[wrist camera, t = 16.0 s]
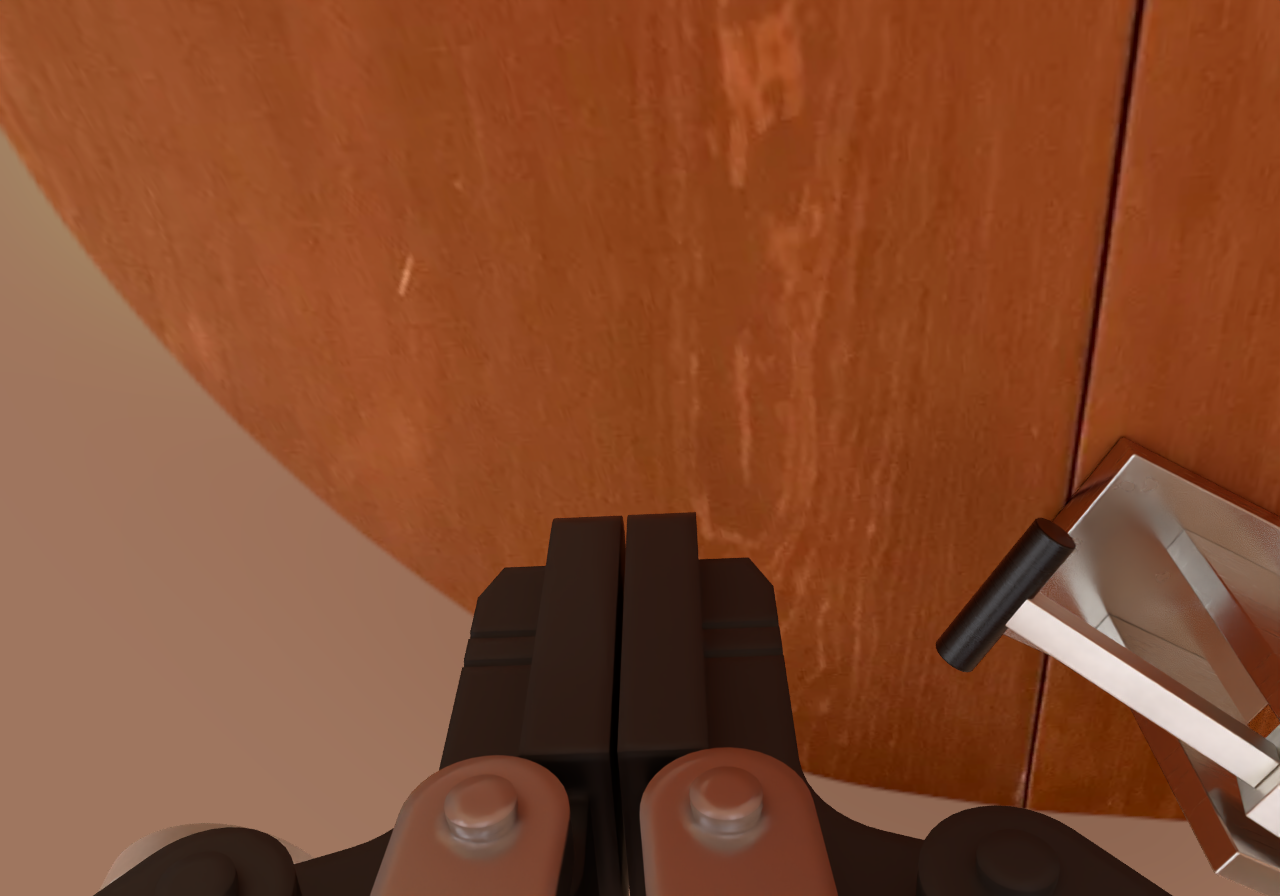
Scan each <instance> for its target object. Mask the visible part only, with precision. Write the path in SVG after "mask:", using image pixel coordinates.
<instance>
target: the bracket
mask: <svg viewBox="0 0 1280 896" xmlns="http://www.w3.org/2000/svg"><path fill="white" fill-rule="evenodd" d="M1053 523H1055V524H1056V525H1058V526H1059V527H1061V528H1062V529H1063V530H1064V531H1066V532H1067V533H1068V534H1069V535H1070V536H1071V538H1072V539H1073V540H1074V542H1075V544H1076V548H1075V550H1074V551H1073V552H1072V553H1071V554H1070V556H1069V557H1068V558H1067V559H1066V560H1065V561H1064V563H1063V564H1062V565H1061V566H1060V567H1059V569H1058V570H1057V571H1056V572H1055V573H1054V575H1053V576H1052V577H1051V578H1050V579H1049V580H1048V582H1047V583H1046V584H1045V585H1044V586H1043V588H1042V589H1041V590H1040V591H1039V592H1040V593H1042V594H1043V595H1045V596H1046V597H1048V598H1049V599H1051V600H1052V601H1054V602H1055V603H1057V604H1059V605H1060V606H1062V607H1063V608H1065V609H1066V610H1068V611H1069V612H1071V613H1072V614H1074V615H1076V616H1077V617H1079V618H1080V619H1082V620H1083V621H1085V622H1086V623H1088V624H1089V625H1091V626H1093V627H1094V628H1096V629H1097V630H1099V631H1100V632H1102V633H1103V634H1105V635H1106V636H1108V637H1110V638H1111V639H1113V640H1114V641H1116V642H1117V643H1119V644H1120V645H1122V646H1123V647H1125V648H1126V649H1128V650H1130V651H1131V652H1133V653H1134V654H1136V655H1137V656H1139V657H1140V658H1142V659H1143V660H1145V661H1147V662H1148V663H1150V664H1151V665H1153V666H1154V667H1156V668H1157V669H1159V670H1160V671H1162V672H1164V673H1165V674H1167V675H1168V676H1170V677H1171V678H1173V679H1174V680H1176V681H1177V682H1179V683H1181V684H1182V685H1184V686H1185V687H1187V688H1188V689H1190V690H1191V691H1193V692H1194V693H1196V694H1197V695H1199V696H1201V697H1202V698H1204V699H1205V700H1207V701H1208V702H1210V703H1211V704H1213V705H1214V706H1216V707H1218V708H1219V709H1221V710H1222V711H1224V712H1225V713H1227V714H1228V715H1230V716H1231V717H1233V718H1235V719H1236V720H1238V721H1239V722H1241V723H1242V724H1244V725H1245V726H1247V727H1248V728H1249V726H1248V723H1249V722H1250V721H1251V720H1252V719H1253V718H1254V717H1255V716H1256V715H1257V714H1258V713H1259V712H1260V711H1261V710H1262V709H1263V708H1264V707H1265V706H1266V705H1267V704H1269V706H1270V707H1271V709H1272V710H1273V712H1274V713H1275V715H1276V716H1277V718H1278V719H1279V721H1280V517H1279V516H1277V515H1275V514H1273V513H1271V512H1269V511H1267V510H1265V509H1263V508H1261V507H1259V506H1257V505H1255V504H1253V503H1251V502H1250V501H1248V500H1246V499H1244V498H1242V497H1240V496H1238V495H1236V494H1234V493H1232V492H1230V491H1228V490H1226V489H1224V488H1222V487H1220V486H1218V485H1216V484H1214V483H1212V482H1210V481H1208V480H1206V479H1204V478H1202V477H1201V476H1199V475H1197V474H1195V473H1193V472H1191V471H1189V470H1187V469H1185V468H1183V467H1181V466H1179V465H1177V464H1175V463H1173V462H1171V461H1169V460H1167V459H1165V458H1163V457H1161V456H1159V455H1157V454H1155V453H1154V452H1152V451H1150V450H1148V449H1146V448H1144V447H1142V446H1140V445H1138V444H1136V443H1134V442H1132V441H1130V440H1128V439H1126V438H1123V437H1122V438H1121V439H1120V440H1119V441H1118V443H1117V444H1116V445H1115V446H1114V447H1113V449H1112V450H1111V451H1110V452H1109V454H1108V455H1107V456H1106V457H1105V458H1104V460H1103V461H1102V462H1101V463H1100V464H1099V466H1098V467H1097V468H1096V469H1095V471H1094V472H1093V473H1092V474H1091V475H1090V477H1089V478H1088V479H1087V480H1086V482H1085V483H1084V484H1083V485H1082V486H1081V488H1080V489H1079V490H1078V491H1077V493H1076V494H1075V495H1074V496H1073V497H1072V499H1071V500H1070V501H1069V502H1068V503H1067V505H1066V506H1065V507H1064V508H1063V510H1062V511H1061V512H1060V513H1059V514H1058V516H1057V517H1056V518H1055V519H1054V521H1053ZM1004 635H1006V636H1008V637H1011V638H1013V639H1015V640H1017V641H1019V642H1022V643H1024V644H1026V645H1028V646H1030V647H1033V648H1035V649H1037V650H1039V651H1041V652H1044V653H1046V652H1045V651H1043V650H1042V649H1040V648H1038V647H1037V646H1035V645H1034V644H1032V643H1031V642H1029V641H1028V640H1026V639H1025V638H1023V637H1022V636H1020V635H1019V634H1017V633H1016V632H1014V631H1012V630H1011V629H1009V628H1008V629H1007V630H1006V631H1005V633H1004ZM1046 654H1048V653H1046ZM1048 655H1049V654H1048ZM1050 656H1051V655H1050ZM1130 709H1131V711H1132V713H1133V715H1134V717H1135V719H1136V721H1137V723H1138V725H1139V727H1140V729H1141V731H1142V732H1143V734H1144V736H1145V738H1146V740H1147V742H1148V744H1149V746H1150V748H1151V750H1152V752H1153V754H1154V756H1155V758H1156V760H1157V762H1158V764H1159V766H1160V768H1161V770H1162V772H1163V774H1164V776H1165V777H1166V779H1167V781H1168V783H1169V785H1170V787H1171V789H1172V791H1173V793H1174V795H1175V797H1176V799H1177V801H1178V803H1179V805H1180V807H1181V809H1182V811H1183V813H1184V815H1185V817H1186V819H1187V821H1188V822H1189V824H1190V826H1191V828H1192V830H1193V832H1194V834H1195V836H1196V838H1197V840H1198V842H1199V844H1200V846H1201V848H1202V850H1203V852H1204V854H1205V856H1206V858H1207V860H1208V861H1209V864H1210V865H1211V867H1212V869H1213V871H1214V873H1215V874H1216V875H1218V876H1221V877H1223V878H1225V879H1228V880H1230V881H1232V882H1235V883H1237V884H1240V885H1242V886H1244V887H1247V888H1249V889H1251V890H1254V891H1256V892H1259V893H1261V894H1264V895H1266V896H1280V839H1279V838H1278V837H1276V836H1275V835H1273V834H1272V833H1270V832H1269V831H1267V830H1266V829H1264V828H1263V827H1261V826H1260V825H1258V824H1257V823H1255V822H1254V821H1252V820H1250V819H1249V818H1247V817H1246V815H1245V812H1244V808H1243V804H1242V799H1241V795H1240V791H1239V787H1238V783H1237V778H1236V776H1234V775H1233V774H1231V773H1230V772H1228V771H1227V770H1225V769H1224V768H1222V767H1221V766H1219V765H1218V764H1216V763H1215V762H1213V761H1211V760H1210V759H1208V758H1207V757H1205V756H1204V755H1202V754H1201V753H1199V752H1198V751H1196V750H1195V749H1193V748H1192V747H1190V746H1189V745H1187V744H1185V743H1184V742H1182V741H1181V740H1179V739H1178V738H1176V737H1175V736H1173V735H1172V734H1170V733H1169V732H1167V731H1166V730H1164V729H1162V728H1161V727H1159V726H1158V725H1156V724H1155V723H1153V722H1152V721H1150V720H1149V719H1147V718H1146V717H1144V716H1143V715H1141V714H1140V713H1138V712H1136V711H1135V710H1133V709H1132V708H1130Z"/></svg>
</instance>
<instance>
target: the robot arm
mask: <svg viewBox="0 0 1280 896" xmlns="http://www.w3.org/2000/svg"><path fill="white" fill-rule="evenodd" d="M470 634H471V637H470V639H469V640H468V645H467V649H466V653H465V658H464V667H463V668H462V671H461V675H460V680H459V685H458V689H457V693H456V698H455V702H454V706H453V711H452V715H451V719H450V724H449V728H448V733H447V738H446V742H445V746H444V751H443V755H442V760H441V764H440V768H439V771H438V772H436V773H434V774H433V775H431V776H430V777H428V778H427V779H426V780H425V781H423V782H422V783H421V784H420V785H419V786H418V787H417V788H416V789H415V790H414V791H413V792H412V793H411V794H410V796H409V797H408V799H407V800H406V801H405V803H404V804H403V807H402V809H401V811H400V813H399V815H398V818H397V821H396V824H395V827H394V828H393V829H392V830H390V831H388V832H387V833H385V834H383V835H381V836H379V837H377V838H375V839H373V840H371V841H369V842H366V843H364V844H361V845H358V846H355V847H352V848H349V849H345V850H342V851H338V852H335V853H332V854H329V855H325V856H321V857H318V858H315V859H311V860H308V861H304V862H301V863H297V864H293V861H292V857H291V855H290V854H289V852H288V851H287V849H286V847H285V846H283V845H282V844H281V843H280V842H279V841H278V840H277V839H275V838H274V837H272V836H270V835H268V834H266V833H263V832H260V831H258V830H254V829H248V828H233V827H227V828H219V829H211V830H207V831H203V832H199V833H195V834H192V835H190V836H187V837H184V838H181V839H179V840H177V841H175V842H173V843H171V844H169V845H167V846H165V847H163V848H162V849H160V850H159V851H157V852H155V853H154V854H152V855H151V856H149V857H148V858H146V859H145V860H143V861H142V862H141V863H139V864H138V865H136V866H135V867H133V868H132V869H131V870H129V871H128V872H126V873H125V874H124V875H122V876H121V877H119V878H118V879H116V880H115V881H114V882H112V883H111V884H109V885H108V886H106V887H105V888H104V889H102V890H101V891H99V892H98V893H96V894H95V895H94V896H629V890H630V896H1172V895H1171V894H1169V893H1168V892H1166V891H1165V890H1163V889H1162V888H1160V887H1159V886H1157V885H1156V884H1154V883H1153V882H1151V881H1150V880H1148V879H1147V878H1145V877H1144V876H1142V875H1141V874H1139V873H1138V872H1136V871H1135V870H1133V869H1132V868H1130V867H1129V866H1127V865H1126V864H1124V863H1123V862H1121V861H1120V860H1118V859H1117V858H1115V857H1114V856H1112V855H1111V854H1109V853H1108V852H1106V851H1105V850H1103V849H1102V848H1100V847H1099V846H1097V845H1096V844H1094V843H1093V842H1091V841H1090V840H1088V839H1087V838H1085V837H1084V836H1082V835H1081V834H1079V833H1078V832H1076V831H1075V830H1073V829H1072V828H1070V827H1068V826H1067V825H1065V824H1063V823H1061V822H1060V821H1058V820H1055V819H1053V818H1051V817H1048V816H1046V815H1044V814H1041V813H1038V812H1034V811H1031V810H1028V809H1022V808H1017V807H1011V806H982V807H976V808H971V809H967V810H963V811H961V812H958V813H956V814H953V815H951V816H949V817H948V818H946V819H944V820H943V821H941V822H940V823H939V824H938V825H937V826H936V827H934V828H933V829H932V830H931V832H930V833H929V834H928V836H927V837H926V839H925V840H922V839H917V838H912V837H909V836H904V835H900V834H895V833H891V832H887V831H883V830H879V829H875V828H872V827H869V826H866V825H863V824H861V823H859V822H856V821H854V820H851V819H850V818H848V817H846V816H844V815H842V814H841V813H839V812H837V811H836V810H835V809H833V808H832V807H831V806H829V805H828V804H826V803H825V802H824V801H823V800H822V799H821V798H820V797H819V796H818V795H817V794H816V793H815V792H814V790H813V789H812V787H811V786H810V785H809V784H808V782H807V780H806V778H805V776H804V774H803V772H802V769H801V765H800V761H799V756H798V749H797V743H796V736H795V729H794V722H793V716H792V709H791V702H790V695H789V689H788V682H787V675H786V669H785V662H784V655H783V650H782V642H781V635H780V628H779V625H778V615H777V608H776V601H775V594H774V588H773V585H772V584H771V583H770V582H769V581H768V579H767V578H766V577H765V576H764V575H763V574H762V572H761V571H760V570H759V569H758V568H757V567H756V566H755V564H754V563H753V562H752V561H751V560H750V559H749V558H725V559H700V560H698V543H697V524H696V512H692V513H668V514H644V515H628V517H627V536H626V544H625V532H624V523H623V517H622V516H603V517H579V518H555V519H553V522H552V528H551V534H550V541H549V548H548V555H547V562H546V566H534V567H510V568H504V569H503V570H502V571H501V572H500V574H499V575H498V576H497V577H496V578H495V579H494V580H493V582H492V583H491V584H490V585H489V586H488V587H487V588H486V590H485V591H484V592H483V593H482V594H481V595H480V596H479V597H478V600H477V605H476V609H475V613H474V618H473V622H472V627H471V631H470Z"/></svg>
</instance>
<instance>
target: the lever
mask: <svg viewBox="0 0 1280 896" xmlns="http://www.w3.org/2000/svg"><path fill="white" fill-rule="evenodd" d="M1075 548H1076V544H1075V542H1074V540H1073V539H1072V538H1071V536H1070V535H1069V534H1068V533H1067V532H1066V531H1064V530H1063V529H1062V528H1061V527H1059V526H1058V525H1056V524H1055V523H1053V522H1051V521H1049V520H1047V519H1044V518H1037V519H1035V521H1034V522H1033V523H1032V524H1031V526H1030V527H1029V528H1028V529H1027V531H1026V532H1025V533H1024V534H1023V536H1022V537H1021V538H1020V539H1019V540H1018V542H1017V543H1016V544H1015V545H1014V547H1013V548H1012V549H1011V550H1010V552H1009V553H1008V554H1007V555H1006V556H1005V558H1004V559H1003V560H1002V561H1001V563H1000V564H999V565H998V566H997V568H996V569H995V570H994V571H993V572H992V574H991V575H990V576H989V577H988V579H987V580H986V581H985V582H984V584H983V585H982V586H981V587H980V589H979V590H978V591H977V592H976V593H975V595H974V596H973V597H972V598H971V600H970V601H969V602H968V603H967V605H966V606H965V607H964V608H963V609H962V611H961V612H960V613H959V614H958V616H957V617H956V618H955V619H954V621H953V622H952V623H951V624H950V625H949V627H948V628H947V629H946V630H945V632H944V633H943V634H942V635H941V637H940V638H939V639H938V640H937V642H936V649H937V651H938V653H939V654H940V656H941V657H942V658H943V659H944V660H945V661H946V662H947V663H948V664H950V665H951V666H952V667H954V668H956V669H958V670H960V671H963V672H971V671H972V670H973V669H974V668H975V667H976V666H977V665H978V663H979V662H980V661H981V660H982V659H983V658H984V656H985V655H986V654H987V653H988V652H989V650H990V649H991V648H992V647H993V646H994V644H995V643H996V642H997V641H998V640H999V639H1000V637H1001V636H1002V635H1003V634H1004V633H1005V631H1006V630H1007V629H1008V628H1009V629H1011V630H1012V631H1014V632H1016V633H1017V634H1019V635H1020V636H1022V637H1023V638H1025V639H1026V640H1028V641H1029V642H1031V643H1032V644H1034V645H1035V646H1037V647H1038V648H1040V649H1042V650H1043V651H1045V652H1046V653H1048V654H1049V655H1051V656H1052V657H1054V658H1055V659H1057V660H1058V661H1060V662H1061V663H1063V664H1065V665H1066V666H1068V667H1069V668H1071V669H1072V670H1074V671H1075V672H1077V673H1078V674H1080V675H1081V676H1083V677H1084V678H1086V679H1087V680H1089V681H1091V682H1092V683H1094V684H1095V685H1097V686H1098V687H1100V688H1101V689H1103V690H1104V691H1106V692H1107V693H1109V694H1110V695H1112V696H1114V697H1115V698H1117V699H1118V700H1120V701H1121V702H1123V703H1124V704H1126V705H1127V706H1129V707H1130V708H1132V709H1133V710H1135V711H1136V712H1138V713H1140V714H1141V715H1143V716H1144V717H1146V718H1147V719H1149V720H1150V721H1152V722H1153V723H1155V724H1156V725H1158V726H1159V727H1161V728H1162V729H1164V730H1166V731H1167V732H1169V733H1170V734H1172V735H1173V736H1175V737H1176V738H1178V739H1179V740H1181V741H1182V742H1184V743H1185V744H1187V745H1189V746H1190V747H1192V748H1193V749H1195V750H1196V751H1198V752H1199V753H1201V754H1202V755H1204V756H1205V757H1207V758H1208V759H1210V760H1211V761H1213V762H1215V763H1216V764H1218V765H1219V766H1221V767H1222V768H1224V769H1225V770H1227V771H1228V772H1230V773H1231V774H1233V775H1234V776H1236V778H1237V783H1238V787H1239V791H1240V795H1241V799H1242V804H1243V808H1244V812H1245V815H1246V817H1247V818H1249V819H1250V820H1252V821H1254V822H1255V823H1257V824H1258V825H1260V826H1261V827H1263V828H1264V829H1266V830H1267V831H1269V832H1270V833H1272V834H1273V835H1275V836H1276V837H1278V838H1279V839H1280V725H1279V726H1278V727H1277V728H1276V729H1275V730H1274V731H1273V732H1272V733H1271V734H1269V735H1268V736H1267V737H1266V738H1264V737H1262V736H1261V735H1259V734H1258V733H1256V732H1255V731H1253V730H1252V729H1250V728H1248V727H1247V726H1245V725H1244V724H1242V723H1241V722H1239V721H1238V720H1236V719H1235V718H1233V717H1231V716H1230V715H1228V714H1227V713H1225V712H1224V711H1222V710H1221V709H1219V708H1218V707H1216V706H1214V705H1213V704H1211V703H1210V702H1208V701H1207V700H1205V699H1204V698H1202V697H1201V696H1199V695H1197V694H1196V693H1194V692H1193V691H1191V690H1190V689H1188V688H1187V687H1185V686H1184V685H1182V684H1181V683H1179V682H1177V681H1176V680H1174V679H1173V678H1171V677H1170V676H1168V675H1167V674H1165V673H1164V672H1162V671H1160V670H1159V669H1157V668H1156V667H1154V666H1153V665H1151V664H1150V663H1148V662H1147V661H1145V660H1143V659H1142V658H1140V657H1139V656H1137V655H1136V654H1134V653H1133V652H1131V651H1130V650H1128V649H1126V648H1125V647H1123V646H1122V645H1120V644H1119V643H1117V642H1116V641H1114V640H1113V639H1111V638H1110V637H1108V636H1106V635H1105V634H1103V633H1102V632H1100V631H1099V630H1097V629H1096V628H1094V627H1093V626H1091V625H1089V624H1088V623H1086V622H1085V621H1083V620H1082V619H1080V618H1079V617H1077V616H1076V615H1074V614H1072V613H1071V612H1069V611H1068V610H1066V609H1065V608H1063V607H1062V606H1060V605H1059V604H1057V603H1055V602H1054V601H1052V600H1051V599H1049V598H1048V597H1046V596H1045V595H1043V594H1042V593H1040V592H1039V591H1040V590H1041V589H1042V588H1043V586H1044V585H1045V584H1046V583H1047V582H1048V580H1049V579H1050V578H1051V577H1052V576H1053V575H1054V573H1055V572H1056V571H1057V570H1058V569H1059V567H1060V566H1061V565H1062V564H1063V563H1064V561H1065V560H1066V559H1067V558H1068V557H1069V556H1070V554H1071V553H1072V552H1073V551H1074V550H1075Z"/></svg>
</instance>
